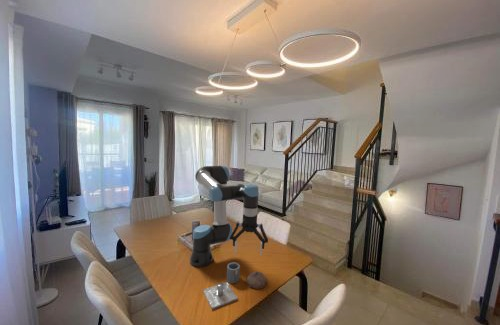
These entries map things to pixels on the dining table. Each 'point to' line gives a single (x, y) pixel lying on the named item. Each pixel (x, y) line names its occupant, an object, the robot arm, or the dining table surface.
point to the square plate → (219, 295)
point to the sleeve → (233, 272)
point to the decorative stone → (256, 280)
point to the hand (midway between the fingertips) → (248, 252)
